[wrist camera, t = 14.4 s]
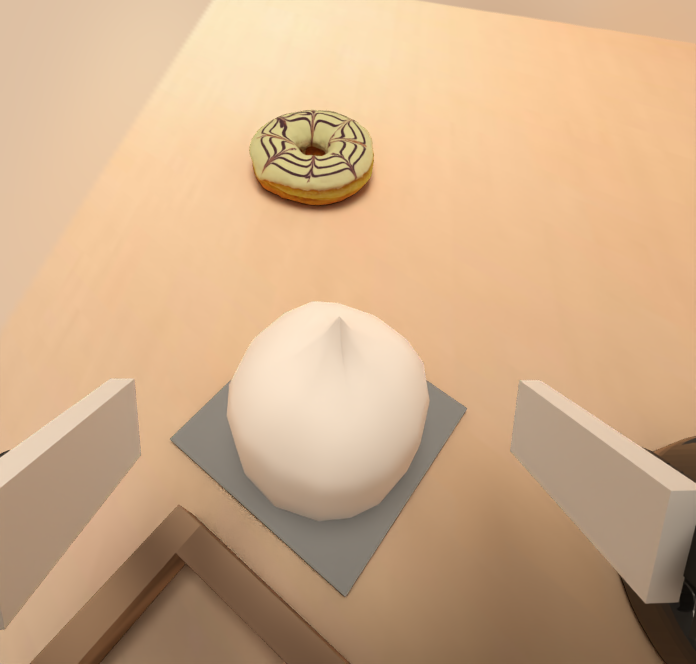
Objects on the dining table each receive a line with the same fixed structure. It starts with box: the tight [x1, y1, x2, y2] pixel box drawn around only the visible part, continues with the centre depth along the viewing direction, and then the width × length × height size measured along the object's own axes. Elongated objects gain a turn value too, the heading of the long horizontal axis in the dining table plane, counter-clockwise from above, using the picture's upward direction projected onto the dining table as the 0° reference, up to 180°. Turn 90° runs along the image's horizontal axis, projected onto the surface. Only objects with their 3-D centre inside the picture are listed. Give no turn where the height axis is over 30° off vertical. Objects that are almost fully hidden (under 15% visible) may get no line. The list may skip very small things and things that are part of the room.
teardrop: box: [227, 301, 430, 521], centre depth 21 cm, size 11×11×12 cm
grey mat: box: [170, 379, 467, 597], centre depth 26 cm, size 13×13×1 cm
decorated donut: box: [249, 110, 374, 205], centre depth 38 cm, size 10×11×4 cm
